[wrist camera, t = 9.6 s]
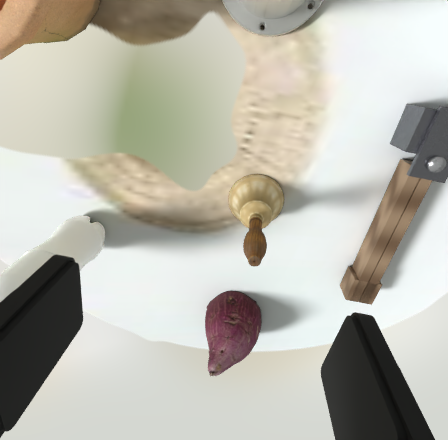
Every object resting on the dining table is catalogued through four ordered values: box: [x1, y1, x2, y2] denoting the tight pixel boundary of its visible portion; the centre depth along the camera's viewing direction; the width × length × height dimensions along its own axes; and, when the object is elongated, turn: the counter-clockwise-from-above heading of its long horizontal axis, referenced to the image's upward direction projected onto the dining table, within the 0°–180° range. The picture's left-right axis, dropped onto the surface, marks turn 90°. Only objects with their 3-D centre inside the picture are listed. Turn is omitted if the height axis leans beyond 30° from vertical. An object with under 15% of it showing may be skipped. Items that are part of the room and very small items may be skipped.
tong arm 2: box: [340, 159, 420, 302], centre depth 42 cm, size 22×2×4 cm, turn 171°
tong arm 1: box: [359, 161, 432, 305], centre depth 42 cm, size 22×2×4 cm, turn 171°
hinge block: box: [390, 104, 448, 183], centre depth 35 cm, size 8×7×6 cm
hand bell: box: [228, 174, 284, 266], centre depth 37 cm, size 8×8×16 cm
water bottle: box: [0, 216, 105, 302], centre depth 38 cm, size 7×7×25 cm
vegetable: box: [205, 291, 262, 376], centre depth 49 cm, size 10×10×15 cm
